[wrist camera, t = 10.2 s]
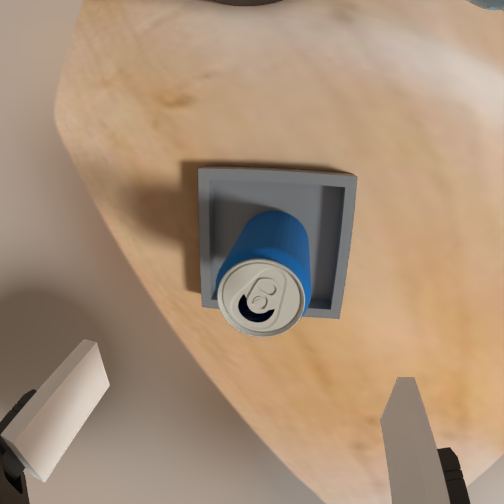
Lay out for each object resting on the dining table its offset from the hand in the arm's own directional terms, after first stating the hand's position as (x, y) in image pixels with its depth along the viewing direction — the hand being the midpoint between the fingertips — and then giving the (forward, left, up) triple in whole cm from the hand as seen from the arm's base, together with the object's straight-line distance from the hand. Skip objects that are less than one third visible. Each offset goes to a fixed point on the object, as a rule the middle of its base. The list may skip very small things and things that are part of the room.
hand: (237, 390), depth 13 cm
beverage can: (0, 0, -21) cm, 21 cm away
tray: (0, 0, -21) cm, 21 cm away
